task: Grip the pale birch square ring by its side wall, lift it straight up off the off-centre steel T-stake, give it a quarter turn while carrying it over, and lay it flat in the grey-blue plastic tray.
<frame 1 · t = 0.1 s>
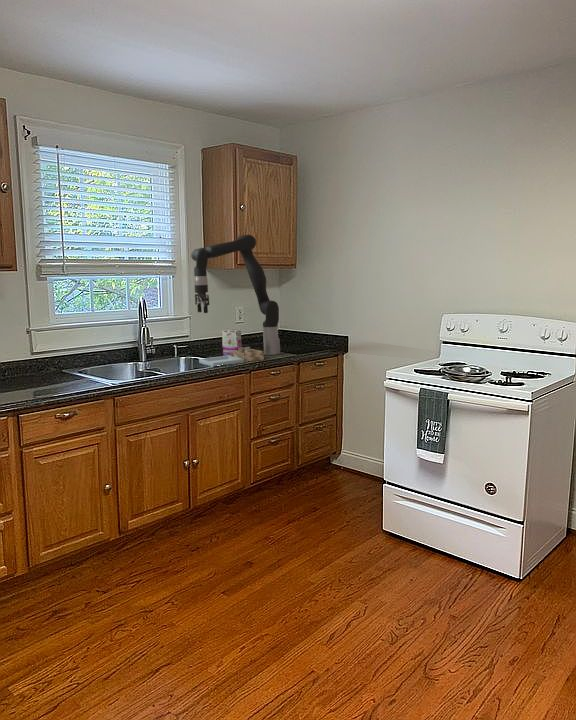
hand: (202, 312, 349), 29 cm above the worktop, fingers open, 8 cm apart
tray: (221, 363, 350), on the worktop
candy bar box: (232, 357, 370), on the worktop
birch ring: (248, 359, 359), on the worktop
steel T-stake: (246, 359, 361), on the worktop
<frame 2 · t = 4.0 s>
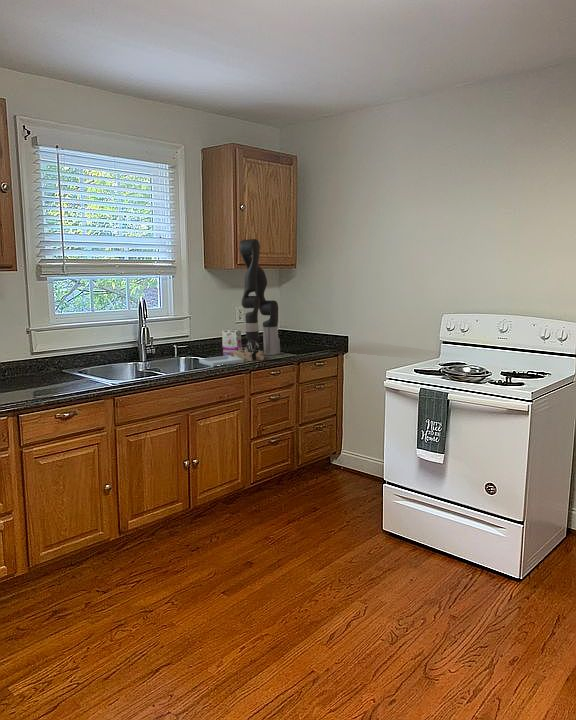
hand: (253, 359, 354), 1 cm above the worktop, fingers closed on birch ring
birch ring: (248, 359, 359), on the worktop, touching gripper
everything else where it was.
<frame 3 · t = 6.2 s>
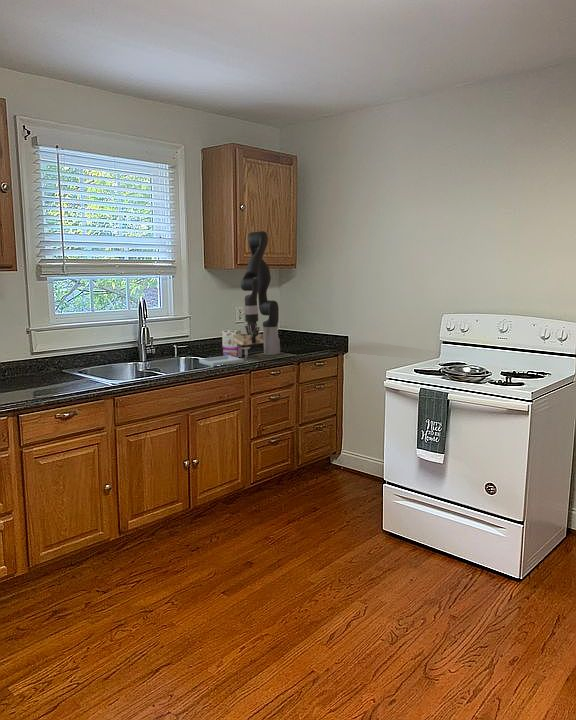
hand: (253, 342, 352), 11 cm above the worktop, fingers closed on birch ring
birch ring: (248, 342, 357), point 10 cm above the worktop, touching gripper
everything else where it was.
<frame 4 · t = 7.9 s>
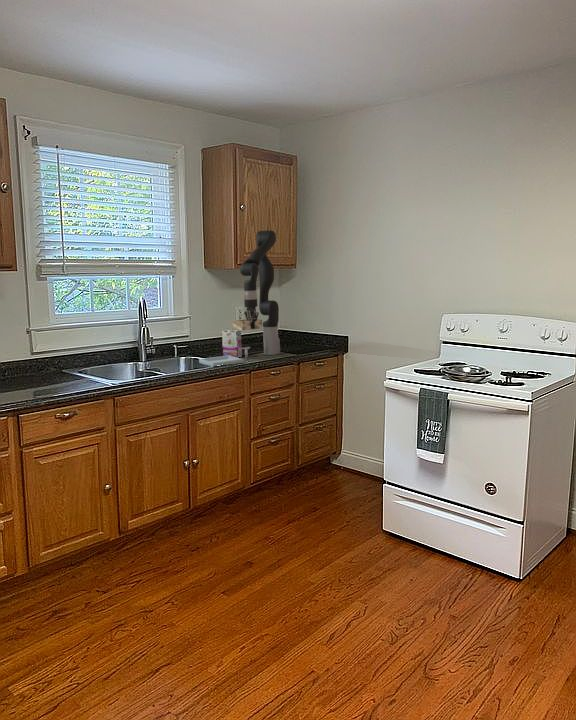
hand: (252, 328, 351), 19 cm above the worktop, fingers closed on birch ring
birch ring: (247, 328, 356), point 18 cm above the worktop, touching gripper
everything else where it was.
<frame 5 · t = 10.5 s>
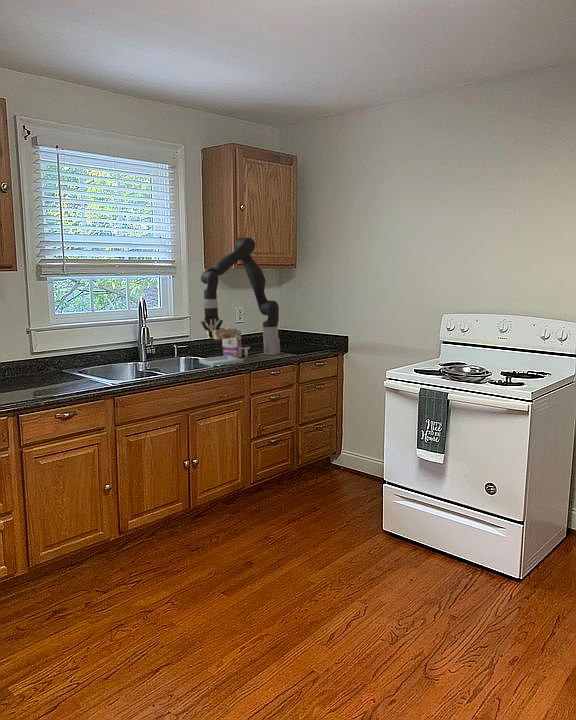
hand: (212, 337, 345), 15 cm above the worktop, fingers closed on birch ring
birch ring: (221, 337, 348), point 15 cm above the worktop, touching gripper
everything else where it was.
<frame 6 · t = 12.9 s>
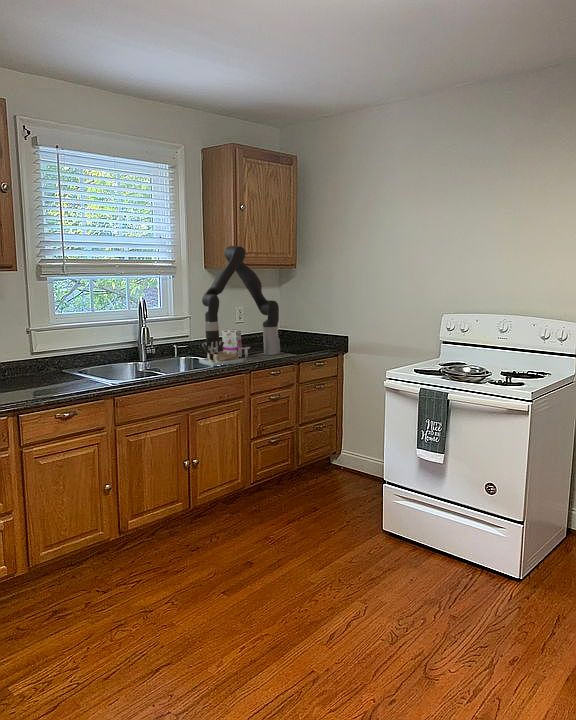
hand: (213, 359, 347), 3 cm above the worktop, fingers closed
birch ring: (222, 361, 350), point 1 cm above the worktop, touching tray
everything else where it was.
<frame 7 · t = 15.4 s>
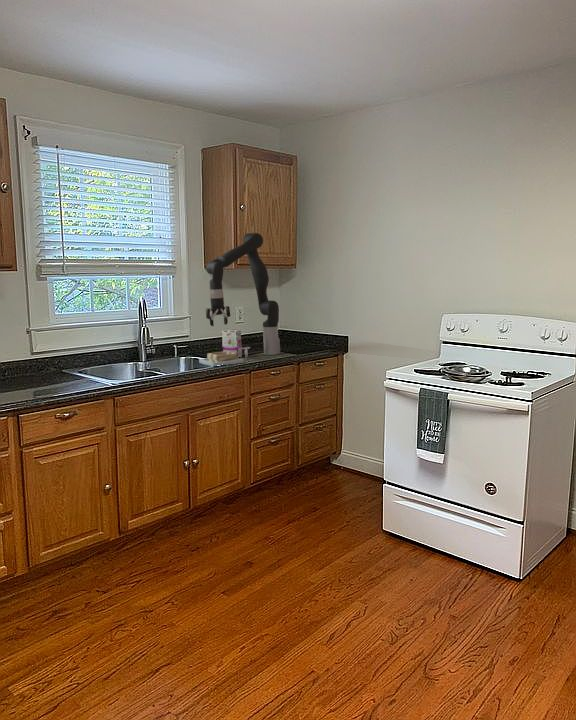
hand: (219, 325, 350), 22 cm above the worktop, fingers open, 8 cm apart
nothing on the worktop moved.
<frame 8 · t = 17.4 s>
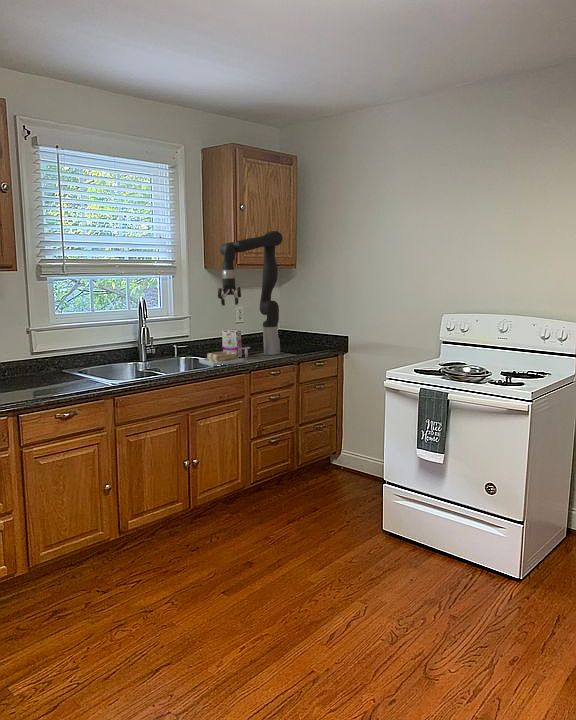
hand: (230, 305, 360), 32 cm above the worktop, fingers open, 8 cm apart
nothing on the worktop moved.
at the end: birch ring inside the target area on the tray (0.2 cm from its centre), point 0.6 cm above the tray's base; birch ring tilted 0°; the gripper is holding nothing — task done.
